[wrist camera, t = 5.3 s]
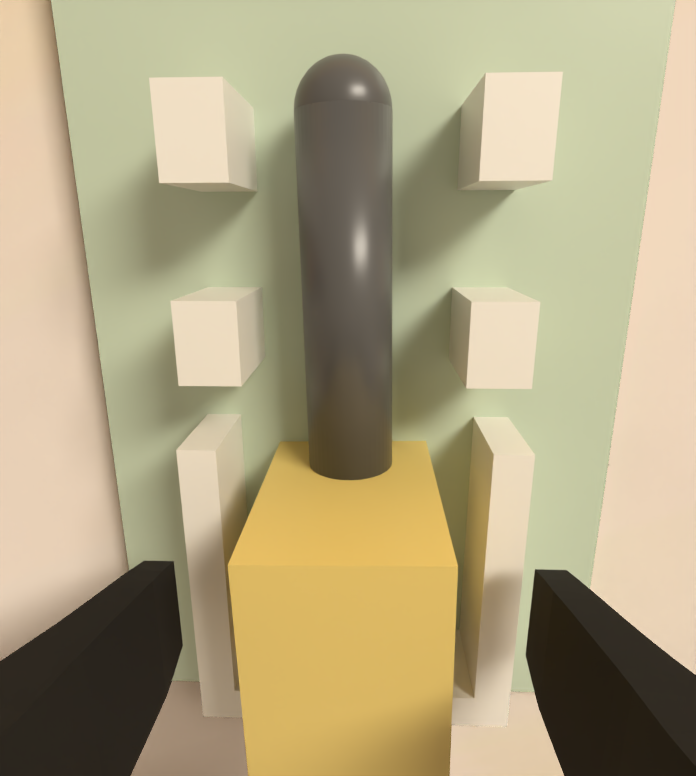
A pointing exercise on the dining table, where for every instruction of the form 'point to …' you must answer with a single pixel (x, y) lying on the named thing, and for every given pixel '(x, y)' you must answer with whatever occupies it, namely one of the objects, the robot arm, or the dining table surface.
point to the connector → (346, 491)
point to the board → (409, 277)
